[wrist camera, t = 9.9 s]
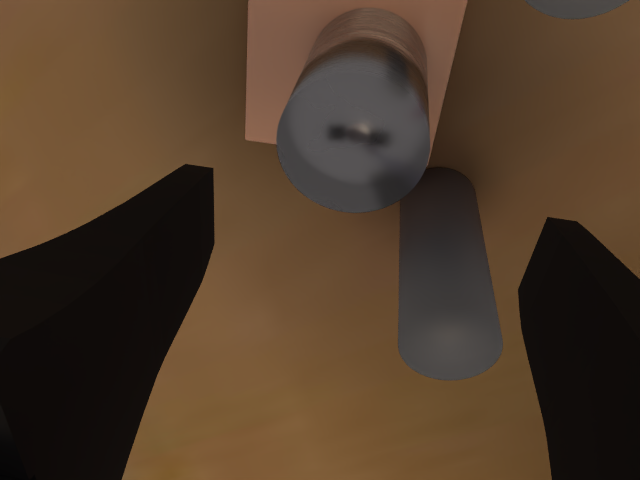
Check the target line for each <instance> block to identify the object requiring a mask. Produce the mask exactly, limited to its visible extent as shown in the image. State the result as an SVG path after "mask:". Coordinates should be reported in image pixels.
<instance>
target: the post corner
mask: <svg viewBox="0 0 640 480" xmlns="http://www.w3.org/2000/svg"><path fill="white" fill-rule="evenodd" d="M502 347H503V341H502V335H501V330H500V324H499V319H498V313H497V308H496V302H495V297H494V291H493V286H492V281H491V275H490V270H489V264H488V259H487V253H486V248H485V242H484V237H483V232H482V226H481V221H480V215H479V210H478V204H477V199H476V194H475V190H474V187H473V185H472V183H471V182H470V181H469V180H468V178H467V177H465V176H464V175H463V174H461V173H459V172H457V171H455V170H452V169H448V168H431V169H427V170H425V171H424V173H423V175H422V177H421V179H420V180H419V182H418V183H417V184H416V186H415V187H414V188H413V189H412V190H411V191H410V192H409V193H408V194H407V195H406V196H404V197H403V198H402V199H400V248H399V324H398V348H399V353H400V355H401V357H402V359H403V360H404V362H405V363H406V364H407V365H408V366H409V367H410V368H412V369H413V370H414V371H416V372H418V373H420V374H422V375H424V376H427V377H430V378H434V379H440V380H460V379H466V378H470V377H473V376H476V375H478V374H481V373H483V372H484V371H486V370H488V369H489V368H490V367H491V366H492V365H493V364H494V363H495V362H496V361H497V360H498V358H499V356H500V355H501V352H502Z"/></svg>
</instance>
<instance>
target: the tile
mask: <svg viewBox="0 0 640 480" xmlns="http://www.w3.org/2000/svg"><path fill="white" fill-rule="evenodd" d="M467 1H468V0H248V35H247V80H246V125H245V140H250V141H257V142H263V143H270V144H276V137H277V129H278V124H279V121H280V118H281V115H282V113H283V111H284V109H285V106H286V104H287V102H288V100H289V98H290V96H291V93H292V91H293V89H294V87H295V85H296V82H297V80H298V78H299V76H300V74H301V72H302V69H303V67H304V65H305V63H306V61H307V59H308V56H309V54H310V52H311V50H312V48H313V46H314V43H315V41H316V39H317V38H318V36H319V34H320V33H321V31H322V30H323V29H324V28H325V26H326V25H327V24H328V23H329V22H331V21H332V20H333V19H334V18H336V17H338V16H339V15H341V14H343V13H345V12H348V11H350V10H354V9H358V8H379V9H383V10H387V11H390V12H392V13H394V14H397V15H398V16H400V17H401V18H403V19H404V20H405V21H407V22H408V23H409V24H410V25H411V26H412V27H413V28H414V29H415V31H416V32H417V34H418V35H419V37H420V39H421V41H422V43H423V45H424V48H425V52H426V57H427V75H428V102H429V128H430V154H429V159H430V155H431V150H432V146H433V142H434V138H435V134H436V130H437V125H438V121H439V117H440V113H441V109H442V105H443V101H444V96H445V92H446V88H447V84H448V80H449V76H450V72H451V67H452V63H453V59H454V55H455V51H456V47H457V42H458V38H459V34H460V30H461V26H462V22H463V18H464V13H465V9H466V5H467ZM429 159H428V163H429ZM428 163H427V166H428Z"/></svg>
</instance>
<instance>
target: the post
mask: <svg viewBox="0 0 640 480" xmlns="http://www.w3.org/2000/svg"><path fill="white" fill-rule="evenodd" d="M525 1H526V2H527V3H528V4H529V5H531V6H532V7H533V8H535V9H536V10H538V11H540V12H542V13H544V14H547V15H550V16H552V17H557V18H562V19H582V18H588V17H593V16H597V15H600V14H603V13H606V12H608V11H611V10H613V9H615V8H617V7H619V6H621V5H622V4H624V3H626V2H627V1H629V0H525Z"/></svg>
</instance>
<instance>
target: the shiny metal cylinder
mask: <svg viewBox="0 0 640 480" xmlns="http://www.w3.org/2000/svg"><path fill="white" fill-rule="evenodd" d="M276 144H277V152H278V157H279V160H280V163H281V166H282V168H283V170H284V172H285V174H286V175H287V177H288V178H289V180H290V181H291V183H292V184H293V185H294V186H295V187H296V188H297V189H298V190H299V191H300V192H301V193H302V194H304V195H305V196H306V197H308V198H309V199H311V200H312V201H314V202H316V203H318V204H319V205H322V206H324V207H327V208H329V209H333V210H337V211H342V212H351V213H360V212H370V211H375V210H378V209H382V208H385V207H387V206H389V205H392V204H394V203H395V202H397V201H399V200H400V199H402V198H403V197H404V196H406V195H407V194H408V193H409V192H410V191H411V190H412V189H413V188H414V187H415V186H416V184H417V183H418V182H419V180H420V179H421V177H422V175H423V173H424V171H425V169H426V166H427V163H428V159H429V154H430V128H429V102H428V75H427V57H426V52H425V48H424V45H423V43H422V41H421V39H420V37H419V35H418V34H417V32H416V31H415V29H414V28H413V27H412V26H411V25H410V24H409V23H408V22H407V21H405V20H404V19H403V18H401V17H400V16H398V15H397V14H394V13H392V12H390V11H387V10H383V9H379V8H358V9H354V10H350V11H348V12H345V13H343V14H341V15H339V16H338V17H336V18H334V19H333V20H332V21H331V22H329V23H328V24H327V25H326V26H325V28H324V29H323V30H322V31H321V33H320V34H319V36H318V38H317V39H316V41H315V43H314V46H313V48H312V50H311V52H310V54H309V56H308V59H307V61H306V63H305V65H304V67H303V69H302V72H301V74H300V76H299V78H298V80H297V82H296V85H295V87H294V89H293V91H292V93H291V96H290V98H289V100H288V102H287V104H286V106H285V109H284V111H283V113H282V115H281V118H280V121H279V124H278V129H277V137H276Z"/></svg>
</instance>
